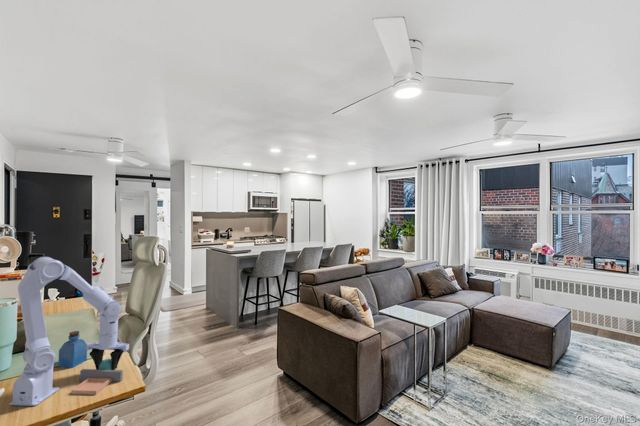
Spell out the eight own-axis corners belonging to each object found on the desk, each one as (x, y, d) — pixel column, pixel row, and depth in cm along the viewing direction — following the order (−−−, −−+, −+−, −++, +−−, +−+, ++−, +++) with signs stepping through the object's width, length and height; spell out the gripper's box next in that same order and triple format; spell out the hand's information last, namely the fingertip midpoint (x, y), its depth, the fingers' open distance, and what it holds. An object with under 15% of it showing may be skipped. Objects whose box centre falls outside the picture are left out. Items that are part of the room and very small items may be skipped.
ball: (109, 376, 115) (109, 362, 115) (95, 376, 115) (95, 362, 115) (117, 369, 120) (118, 356, 120) (103, 369, 120) (104, 356, 120)
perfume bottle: (86, 360, 126) (88, 330, 127) (73, 367, 120) (74, 336, 120) (72, 359, 127) (73, 329, 127) (58, 366, 121) (59, 334, 121)
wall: (120, 381, 112) (120, 371, 112) (79, 380, 112) (80, 370, 112) (122, 380, 113) (122, 370, 113) (82, 378, 113) (82, 369, 113)
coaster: (96, 394, 104) (96, 390, 104) (71, 393, 104) (71, 390, 104) (111, 381, 112) (111, 378, 112) (88, 381, 112) (88, 377, 112)
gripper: (134, 329, 122) (132, 364, 122) (95, 327, 122) (94, 363, 121) (123, 336, 115) (121, 373, 115) (82, 334, 115) (80, 372, 114)
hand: (106, 369), depth 118 cm, fingers closed on ball, 5 cm apart
